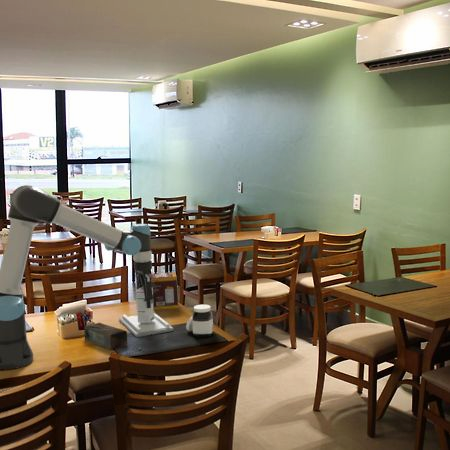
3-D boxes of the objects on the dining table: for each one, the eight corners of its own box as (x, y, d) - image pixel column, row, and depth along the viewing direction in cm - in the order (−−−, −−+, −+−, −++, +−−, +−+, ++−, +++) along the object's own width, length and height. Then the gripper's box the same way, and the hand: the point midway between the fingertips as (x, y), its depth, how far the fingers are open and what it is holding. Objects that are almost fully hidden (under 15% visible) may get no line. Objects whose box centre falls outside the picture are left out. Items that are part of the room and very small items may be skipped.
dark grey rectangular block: (100, 335, 233) (99, 320, 233) (128, 345, 220) (128, 329, 219) (84, 340, 228) (83, 324, 227) (111, 351, 214) (110, 334, 214)
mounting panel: (173, 330, 236) (173, 324, 236) (136, 337, 229) (135, 330, 229) (153, 315, 259) (153, 309, 259) (119, 320, 253) (119, 314, 252)
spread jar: (209, 339, 224) (208, 310, 223) (182, 338, 227) (180, 309, 225) (216, 329, 236) (215, 302, 235) (189, 328, 238) (188, 301, 237)
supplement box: (144, 305, 277) (143, 274, 275) (176, 302, 280) (174, 271, 278) (145, 310, 267) (144, 278, 265) (178, 308, 270) (177, 276, 268)
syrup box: (150, 323, 240) (148, 290, 238) (137, 322, 241) (135, 289, 239) (154, 319, 245) (153, 286, 243) (141, 318, 247) (140, 286, 245)
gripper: (159, 263, 232) (161, 317, 235) (144, 255, 250) (146, 305, 253) (141, 265, 229) (144, 320, 232) (127, 257, 247) (130, 308, 250)
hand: (145, 312), depth 243 cm, fingers closed on syrup box, 8 cm apart
